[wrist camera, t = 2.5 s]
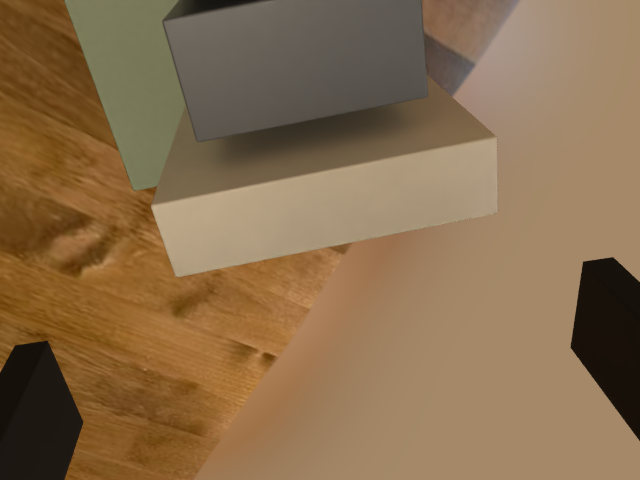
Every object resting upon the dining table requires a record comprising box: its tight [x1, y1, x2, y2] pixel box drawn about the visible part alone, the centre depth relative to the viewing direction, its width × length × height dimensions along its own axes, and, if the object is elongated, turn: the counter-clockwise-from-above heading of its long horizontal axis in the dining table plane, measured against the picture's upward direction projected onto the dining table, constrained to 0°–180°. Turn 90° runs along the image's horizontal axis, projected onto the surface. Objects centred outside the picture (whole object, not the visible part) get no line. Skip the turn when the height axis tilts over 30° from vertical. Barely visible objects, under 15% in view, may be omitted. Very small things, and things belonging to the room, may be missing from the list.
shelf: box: [64, 0, 428, 191], centre depth 24 cm, size 14×14×18 cm
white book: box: [151, 75, 498, 277], centre depth 22 cm, size 10×2×12 cm, turn 100°
